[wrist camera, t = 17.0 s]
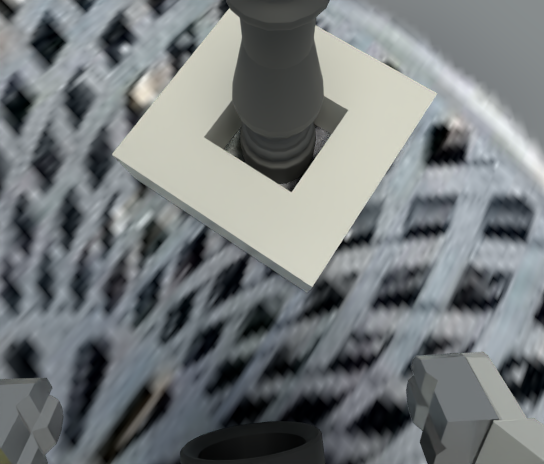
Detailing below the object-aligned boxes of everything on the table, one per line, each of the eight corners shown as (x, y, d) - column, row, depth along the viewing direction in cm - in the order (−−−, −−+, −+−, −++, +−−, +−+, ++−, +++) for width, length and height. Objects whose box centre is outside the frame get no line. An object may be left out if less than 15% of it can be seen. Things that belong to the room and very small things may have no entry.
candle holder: (288, 197, 36) (311, -83, 11) (229, 160, 37) (132, -173, 12) (326, 141, 37) (419, -223, 13) (267, 107, 38) (248, -296, 13)
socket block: (134, 177, 36) (111, 154, 31) (250, 28, 40) (246, -14, 35) (307, 292, 34) (312, 286, 29) (416, 124, 37) (437, 93, 32)
